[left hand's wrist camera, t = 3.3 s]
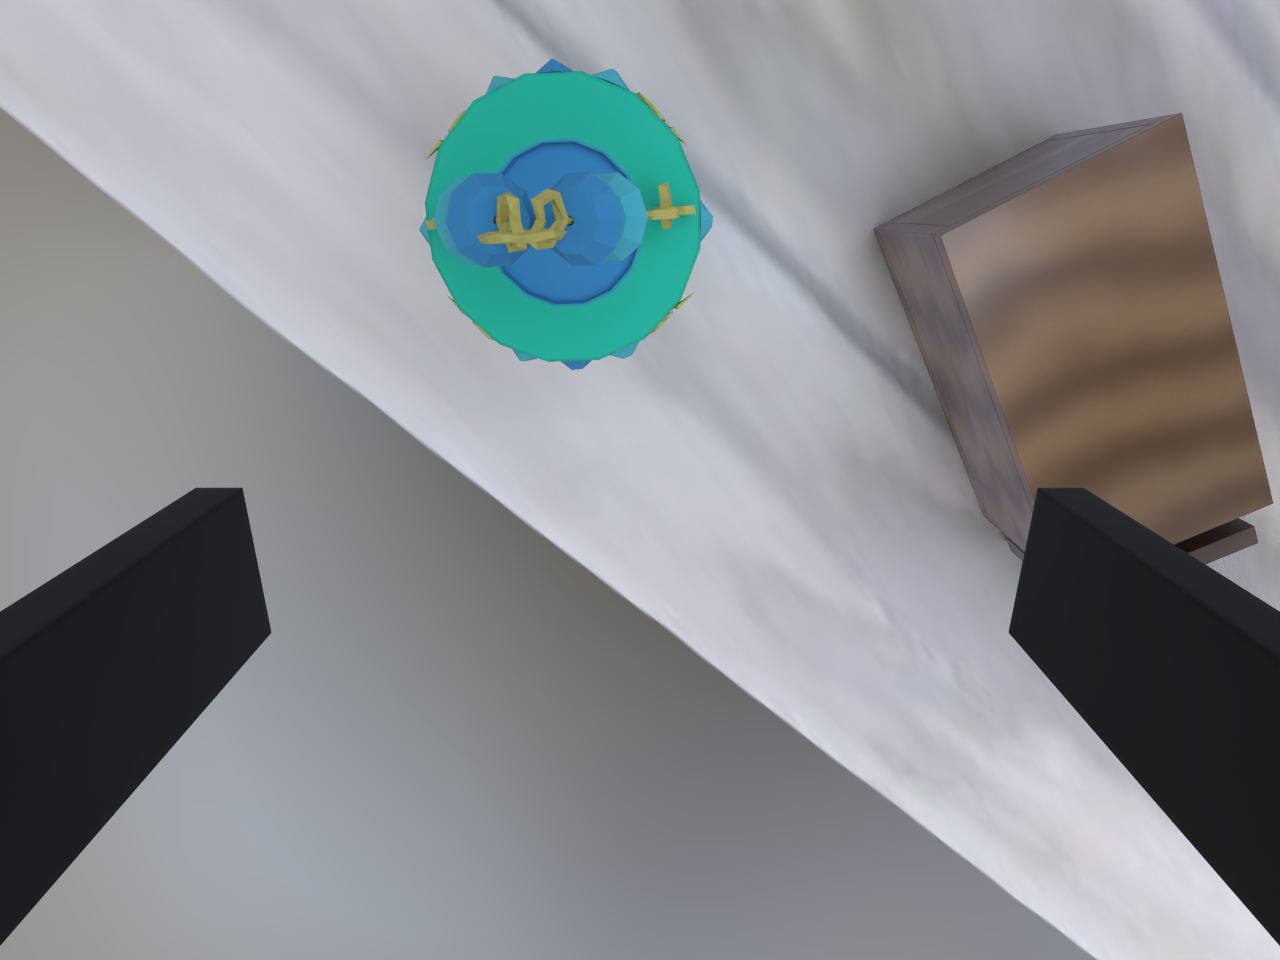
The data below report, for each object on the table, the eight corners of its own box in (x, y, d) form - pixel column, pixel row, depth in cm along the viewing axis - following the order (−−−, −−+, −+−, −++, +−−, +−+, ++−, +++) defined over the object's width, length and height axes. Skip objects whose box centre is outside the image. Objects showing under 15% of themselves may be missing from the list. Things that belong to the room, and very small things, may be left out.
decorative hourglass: (683, 112, 42) (771, -81, 14) (687, 307, 46) (762, 465, 18) (491, 121, 42) (196, -51, 14) (512, 315, 46) (310, 484, 18)
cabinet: (1147, 444, 49) (1274, 503, 39) (983, 516, 51) (1065, 589, 41) (1057, 133, 43) (1182, 112, 33) (873, 228, 44) (939, 235, 35)
